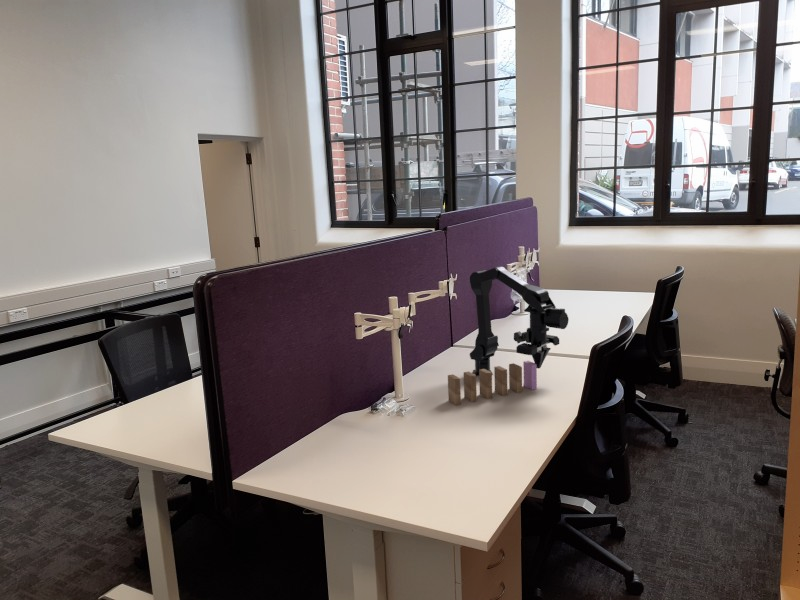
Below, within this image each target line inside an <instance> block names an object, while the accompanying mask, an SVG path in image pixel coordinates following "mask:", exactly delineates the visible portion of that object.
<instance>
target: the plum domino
mask: <svg viewBox="0 0 800 600" xmlns="http://www.w3.org/2000/svg"><path fill="white" fill-rule="evenodd" d="M522 366H523V386H524V387H525V388H527V389H530V390H537V388H538V386H537V385H538V383H537V382H538V381H537V377H538V375H537V371H538V370H537V369H538V368H537V364H535V362H533V361H530V360H525V361H523V365H522Z"/></svg>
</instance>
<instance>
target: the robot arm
mask: <svg viewBox="0 0 800 600" xmlns="http://www.w3.org/2000/svg"><path fill="white" fill-rule="evenodd" d="M494 280H498V282H500V283H502V284H503V285H505V286H506V287H508V288H509V289H511V290H513V291H514V292H516V293H517V294H518V295H520V296H521V298H522V301H524V302H525V303H526V304H527V305H528V306H527V307H526V308H525V309H523V311H524V312H526V313H529V327H527V328H526V331H516V332H514V333H513V341H515V342H516V343H517V346H516V348H515V349H516V350H515V351H516V353H517V354H521V355H525V356H526V355H527V356H531V357H532V359H533V361H534V362H533V363H535V364H537V369H541V367H542V365H543V363H544V361H545V359H546V357H547V356H548V354H549V351H551V349H552V348H551V347H548V344H552V345H554V346H555V347H556V346H558V345H560V338H559V337H558V336H557V335H551V334H548V333H547V332H548V331H550V328H554V329H560V330H565V329H566V328H567V326H568V324H569V316H568V314H567V312H566V309H565V308H556V305H555V304H554V302H553V299H551V297H550V295H549V292H548V290H546V289H545V288H542V287H540V286H537V285H534V284H533V285H532V284H530V283H528V282H526V281H524V280H523V279H522V278H520V277H518V276H517V275H515V274H513V273H512V272H510V271H509V270H507V269H506V268H505V267H504V266H502V265H501V266H495V267H493V268H491V269H489V270H487V269H483V270H479V271H474V272H472V273H471V274H470V275H469V283H470V289H471V290H472V292H473V294H474V295H475V303H476V305H475V306H476V316H477V318H476V319H477V329H478V333H477V335H476V338H475V343H474V344H475V345H474V348H473V350H471V351H470V353H469V358H470V360H472V361H474V369H473V370H472V372H473V374H474V375H476V377H479V370H480V369H486V370H488V371H490V372H492V370H491V359H490V358H491V357H494V356H495V354H496V351H497V350H498V347H499V346H500V344H499V342H498V340H499V337H498V335H495V334H494V333H493V331H492V317H491V307H490V305H491V304H490V291H491V289H492V287H493V281H494ZM520 343H521V344H520ZM493 373H494V372H492V376H494V375H493Z"/></svg>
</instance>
